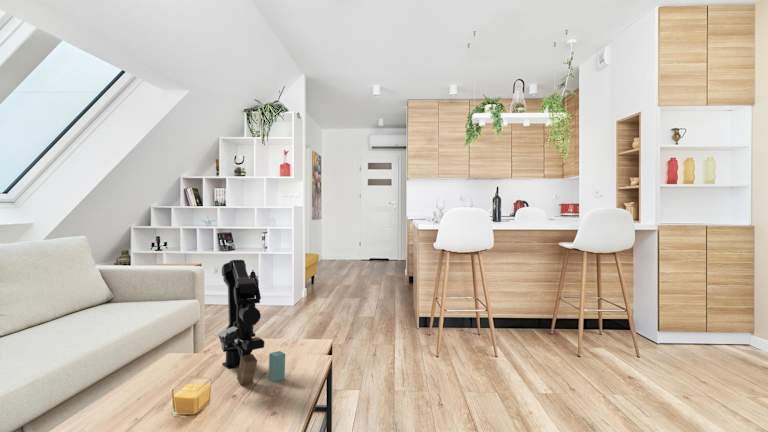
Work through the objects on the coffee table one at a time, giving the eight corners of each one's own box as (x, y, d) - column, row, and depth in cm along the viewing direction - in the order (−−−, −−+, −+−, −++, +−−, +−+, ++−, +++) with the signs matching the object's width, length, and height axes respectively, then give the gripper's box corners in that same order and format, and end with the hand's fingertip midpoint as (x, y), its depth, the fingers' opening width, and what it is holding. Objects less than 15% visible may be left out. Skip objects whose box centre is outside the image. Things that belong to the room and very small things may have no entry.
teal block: (268, 378, 143) (269, 353, 143) (279, 376, 146) (279, 350, 146) (274, 382, 140) (274, 356, 140) (284, 379, 143) (285, 353, 143)
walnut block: (236, 378, 139) (241, 356, 137) (247, 375, 142) (252, 353, 140) (241, 385, 136) (245, 363, 134) (252, 382, 139) (257, 360, 137)
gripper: (211, 316, 142) (210, 361, 141) (233, 327, 128) (231, 377, 128) (242, 312, 149) (241, 355, 149) (265, 322, 135) (264, 369, 135)
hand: (243, 363), depth 140 cm, fingers closed
